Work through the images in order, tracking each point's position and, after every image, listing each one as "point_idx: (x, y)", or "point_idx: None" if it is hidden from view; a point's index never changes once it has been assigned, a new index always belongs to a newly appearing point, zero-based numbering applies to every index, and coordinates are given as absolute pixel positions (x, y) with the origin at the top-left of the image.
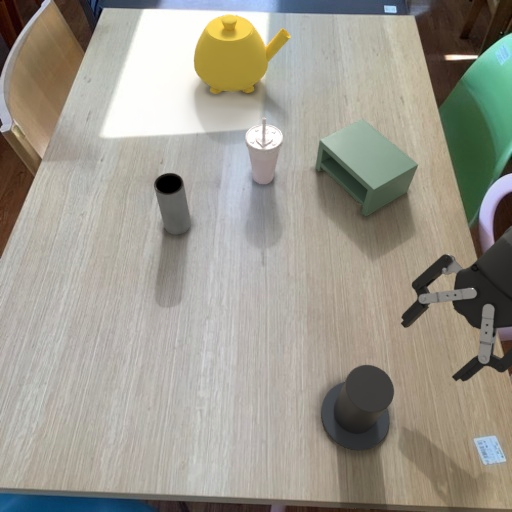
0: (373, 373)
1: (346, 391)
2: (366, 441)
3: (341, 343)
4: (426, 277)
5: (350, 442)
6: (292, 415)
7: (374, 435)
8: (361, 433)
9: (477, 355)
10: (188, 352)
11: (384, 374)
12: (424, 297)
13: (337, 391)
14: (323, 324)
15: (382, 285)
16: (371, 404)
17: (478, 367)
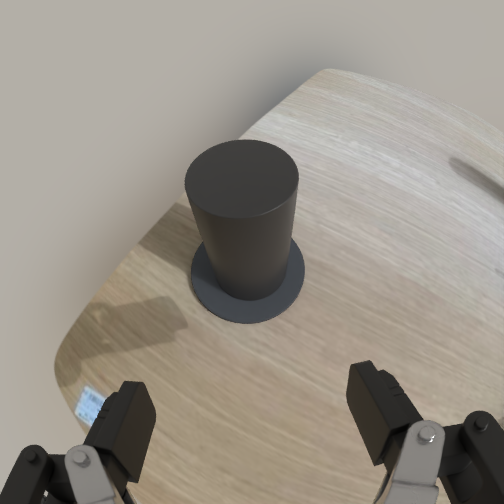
0: (265, 192)
1: (260, 141)
2: (203, 257)
3: (368, 316)
4: (499, 460)
5: None
6: None
7: (203, 273)
8: None
9: (133, 479)
10: (400, 152)
11: (249, 212)
12: (430, 439)
13: (293, 261)
14: (407, 306)
15: None
16: (209, 160)
17: (92, 437)
